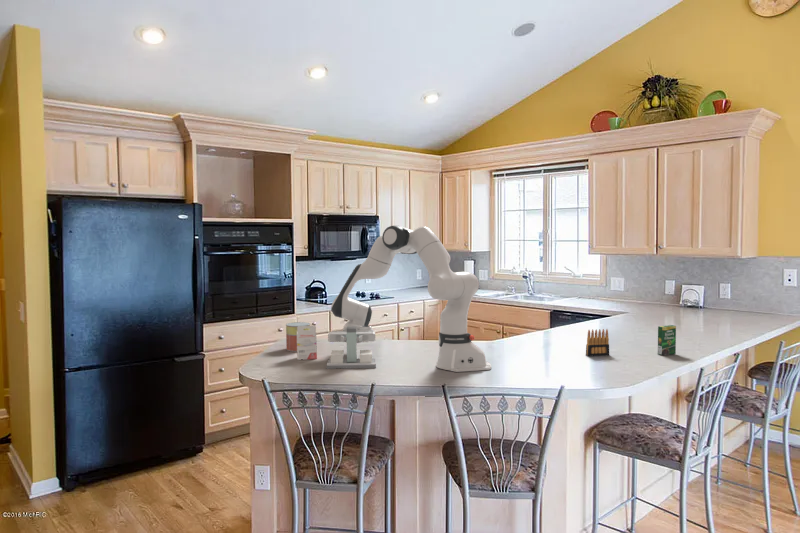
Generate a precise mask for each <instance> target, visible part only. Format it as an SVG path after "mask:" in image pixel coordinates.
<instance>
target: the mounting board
mask: <svg viewBox="0 0 800 533" xmlns="http://www.w3.org/2000/svg"><path fill="white" fill-rule="evenodd" d="M336 368H341V369H376V368H377V362H376V358H373V350H372V349H360V350H359V358H357V362H347V358H345V353H344V349H342V350H341V349H337V350H335V349H334V350H331V352H330V358H329V359H328V360H327V363H326V369H327V370H329V369H331V370H332V369H336Z"/></svg>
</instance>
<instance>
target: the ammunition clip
mask: <svg viewBox="0 0 800 533" xmlns="http://www.w3.org/2000/svg"><path fill="white" fill-rule="evenodd" d="M609 340H610V339H609V329H608V328H606V329H604V328H603V329H602V331H601V329H595V331H594V329H592V330H590V329H588V331H587V338H586V345H585V346H586V347H585V356H586V357H606V356H610V341H609Z"/></svg>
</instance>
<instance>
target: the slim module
mask: <svg viewBox="0 0 800 533" xmlns="http://www.w3.org/2000/svg"><path fill="white" fill-rule="evenodd" d="M357 344H358V343H357V342H356V327H347V343H346V359H347V362H357V359H358V358H357V357H358V354H357V350H358V349H357V348H358V347H357Z"/></svg>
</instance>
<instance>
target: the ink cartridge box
mask: <svg viewBox="0 0 800 533" xmlns="http://www.w3.org/2000/svg"><path fill="white" fill-rule="evenodd" d="M306 328H308V329H310V330H303V329H306ZM317 344H318V343H317V327H316V325H310V326H298V327H297V352H296V355H297V356H296V358H297V360H298V361H299V360H301V359H303V360H317V359H318V352H317V350H318V349H317V348H318V347H317Z"/></svg>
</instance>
